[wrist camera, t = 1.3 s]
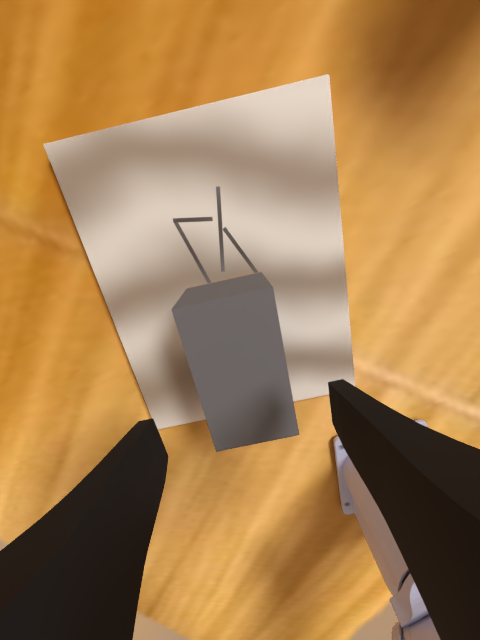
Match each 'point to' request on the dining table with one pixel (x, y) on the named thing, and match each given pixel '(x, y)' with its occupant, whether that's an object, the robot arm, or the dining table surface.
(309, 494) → the dining table surface
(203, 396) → the block
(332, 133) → the board
